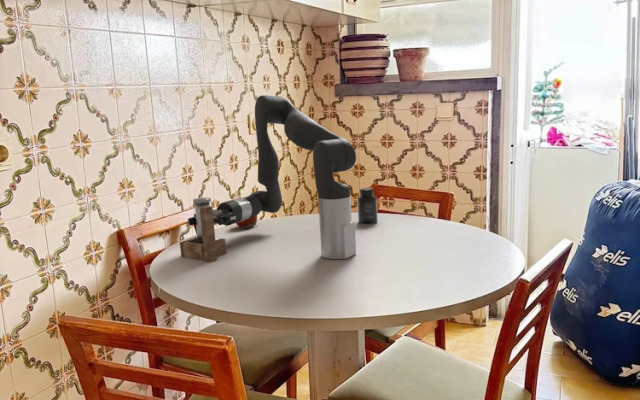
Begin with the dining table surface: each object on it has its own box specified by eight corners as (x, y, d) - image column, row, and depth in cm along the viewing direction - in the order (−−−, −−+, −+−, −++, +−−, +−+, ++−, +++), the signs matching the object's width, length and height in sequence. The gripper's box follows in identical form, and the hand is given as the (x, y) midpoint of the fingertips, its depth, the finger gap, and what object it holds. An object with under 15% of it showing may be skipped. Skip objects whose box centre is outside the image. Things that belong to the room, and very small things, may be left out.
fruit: (250, 226, 198) (240, 207, 199) (238, 236, 202) (228, 216, 204) (266, 222, 204) (256, 202, 205) (253, 231, 209) (244, 212, 210)
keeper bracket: (241, 255, 168) (236, 202, 165) (220, 263, 160) (214, 209, 157) (201, 249, 177) (196, 199, 174) (180, 257, 170) (174, 205, 167)
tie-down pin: (218, 253, 172) (214, 198, 169) (205, 257, 168) (201, 201, 165) (206, 251, 175) (202, 197, 172) (193, 255, 171) (189, 200, 168)
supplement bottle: (380, 220, 202) (379, 187, 200) (372, 224, 197) (370, 191, 194) (364, 219, 206) (362, 186, 204) (355, 223, 200) (353, 190, 198)
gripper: (217, 198, 184) (177, 209, 170) (250, 201, 176) (212, 212, 162) (219, 220, 185) (180, 233, 172) (252, 224, 177) (214, 237, 164)
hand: (196, 222), depth 167 cm, fingers open, 5 cm apart
